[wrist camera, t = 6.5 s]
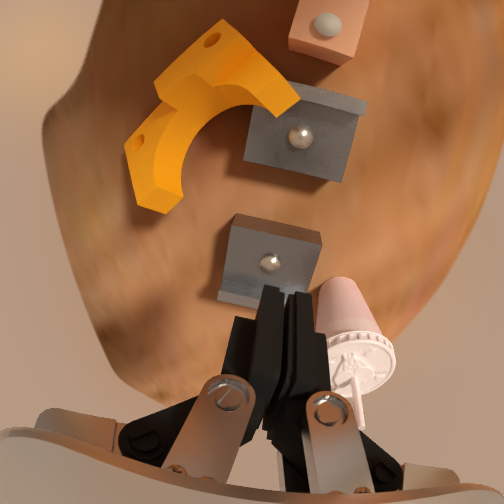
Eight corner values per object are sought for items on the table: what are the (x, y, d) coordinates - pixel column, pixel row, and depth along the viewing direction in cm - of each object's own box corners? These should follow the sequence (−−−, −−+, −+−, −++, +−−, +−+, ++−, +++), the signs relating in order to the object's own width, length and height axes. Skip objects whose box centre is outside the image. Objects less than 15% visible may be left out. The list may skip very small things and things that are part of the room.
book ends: (262, 79, 20) (257, 74, 17) (354, 101, 20) (367, 102, 17) (226, 274, 28) (217, 300, 25) (301, 290, 28) (301, 318, 25)
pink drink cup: (314, 326, 30) (319, 452, 18) (295, 274, 28) (294, 408, 15) (376, 309, 28) (409, 432, 16) (365, 254, 26) (411, 381, 14)
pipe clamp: (222, 18, 16) (264, 55, 13) (257, 54, 19) (301, 98, 17) (106, 136, 20) (116, 198, 18) (147, 155, 24) (165, 214, 21)
